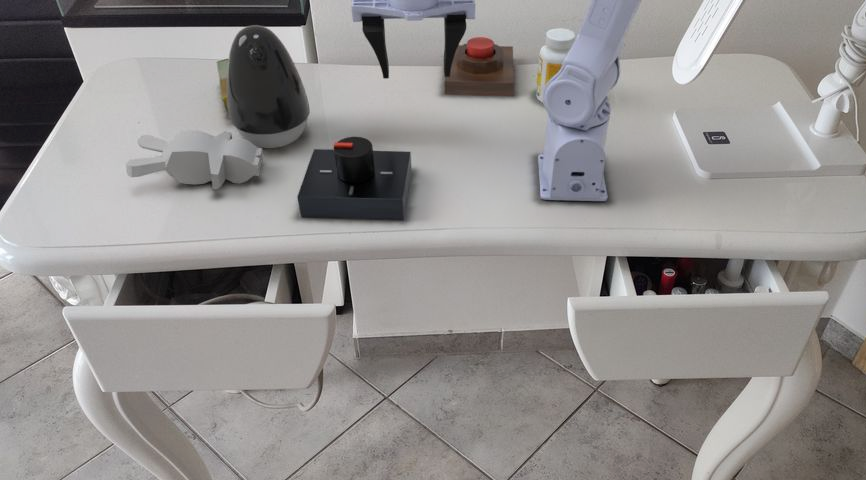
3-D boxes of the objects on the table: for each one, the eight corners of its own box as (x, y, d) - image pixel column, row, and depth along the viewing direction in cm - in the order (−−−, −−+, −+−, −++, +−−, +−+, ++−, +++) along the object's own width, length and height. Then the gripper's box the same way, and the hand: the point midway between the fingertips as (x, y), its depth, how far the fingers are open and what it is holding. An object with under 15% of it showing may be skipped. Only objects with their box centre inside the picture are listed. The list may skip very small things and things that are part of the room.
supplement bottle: (528, 96, 105) (532, 32, 98) (554, 85, 107) (560, 22, 101) (553, 110, 102) (560, 45, 95) (580, 99, 104) (588, 35, 98)
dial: (377, 162, 86) (374, 134, 83) (372, 184, 83) (369, 155, 80) (340, 161, 86) (337, 133, 83) (334, 182, 83) (330, 154, 80)
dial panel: (403, 220, 83) (402, 198, 81) (300, 217, 83) (296, 195, 81) (411, 171, 90) (410, 150, 88) (317, 169, 90) (313, 147, 88)
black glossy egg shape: (234, 163, 91) (206, 49, 81) (236, 122, 98) (210, 13, 88) (315, 155, 93) (297, 42, 82) (311, 115, 100) (294, 7, 90)
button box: (513, 96, 104) (514, 71, 102) (444, 94, 105) (444, 69, 102) (512, 59, 113) (513, 35, 111) (449, 58, 113) (448, 33, 111)
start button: (493, 60, 105) (493, 49, 104) (466, 59, 105) (466, 48, 104) (493, 48, 108) (494, 37, 107) (467, 47, 108) (467, 36, 107)
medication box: (224, 85, 106) (215, 60, 104) (242, 81, 107) (234, 56, 104) (231, 124, 98) (221, 97, 95) (250, 119, 98) (241, 92, 95)
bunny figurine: (253, 167, 83) (117, 158, 81) (256, 202, 87) (126, 195, 85) (264, 125, 90) (139, 116, 88) (266, 159, 94) (146, 151, 92)
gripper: (345, -24, 78) (357, 90, 87) (478, -26, 79) (476, 87, 88) (348, -46, 83) (359, 64, 92) (473, -48, 84) (471, 61, 93)
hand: (416, 74), depth 90 cm, fingers open, 7 cm apart
